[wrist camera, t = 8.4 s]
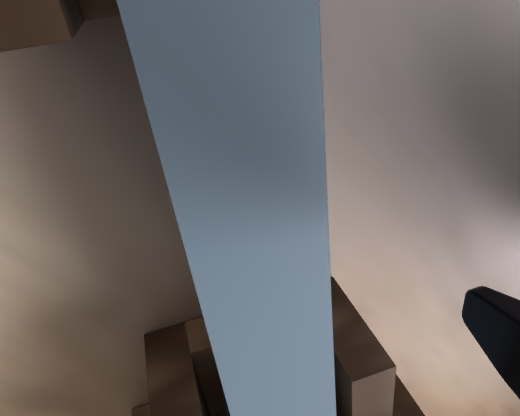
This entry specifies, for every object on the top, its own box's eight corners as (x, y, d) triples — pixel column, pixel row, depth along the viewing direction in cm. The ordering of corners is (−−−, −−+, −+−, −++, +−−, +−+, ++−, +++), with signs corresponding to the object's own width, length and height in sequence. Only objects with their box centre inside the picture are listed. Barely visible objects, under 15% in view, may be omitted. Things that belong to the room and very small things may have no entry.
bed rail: (245, -191, 10) (318, -285, 7) (303, 371, 22) (342, 453, 18) (62, -177, 9) (25, -274, 6) (223, 399, 21) (246, 491, 17)
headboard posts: (375, -223, 12) (677, -451, 6) (365, 351, 26) (450, 482, 19) (-156, -189, 10) (-746, -535, 3) (141, 430, 23) (151, 612, 17)
